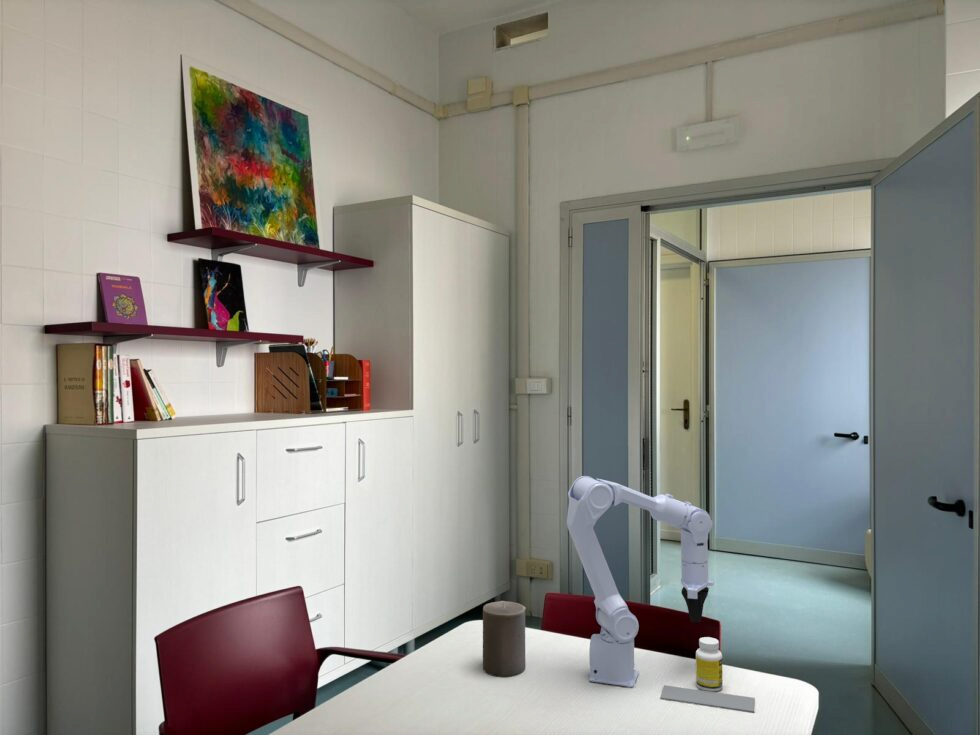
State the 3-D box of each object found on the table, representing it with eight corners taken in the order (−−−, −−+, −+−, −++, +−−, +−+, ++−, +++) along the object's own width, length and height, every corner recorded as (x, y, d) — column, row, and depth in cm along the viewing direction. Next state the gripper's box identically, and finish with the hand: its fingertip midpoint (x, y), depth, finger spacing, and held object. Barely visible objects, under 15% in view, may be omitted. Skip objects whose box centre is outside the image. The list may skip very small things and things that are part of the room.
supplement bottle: (724, 693, 149) (723, 646, 149) (697, 691, 150) (696, 644, 150) (721, 682, 154) (720, 636, 154) (695, 680, 155) (694, 634, 155)
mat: (660, 698, 147) (660, 697, 147) (663, 686, 152) (663, 685, 152) (754, 712, 141) (754, 711, 141) (754, 699, 146) (754, 697, 146)
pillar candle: (488, 679, 157) (487, 610, 157) (478, 661, 167) (478, 596, 167) (531, 675, 159) (530, 607, 159) (519, 657, 169) (519, 593, 169)
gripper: (711, 570, 153) (712, 634, 153) (715, 553, 167) (716, 612, 167) (677, 568, 155) (678, 631, 156) (683, 551, 169) (684, 609, 169)
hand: (695, 621), depth 161 cm, fingers closed
